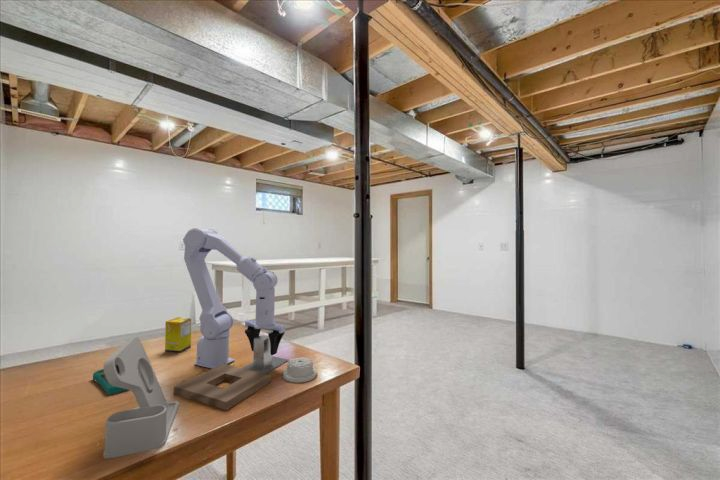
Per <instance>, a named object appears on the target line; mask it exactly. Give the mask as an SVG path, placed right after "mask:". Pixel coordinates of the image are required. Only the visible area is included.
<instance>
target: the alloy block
mask: <svg viewBox="0 0 720 480" xmlns="http://www.w3.org/2000/svg"><path fill="white" fill-rule="evenodd" d="M272 356H273V355H271V351H270V339H269V336H268V334H267V335H266V334H260V335H259V336H258V337H256V338H254V351H253V361H252V363H253V367H256V368H261V369H265V368H266V367H268V366H270V365H272Z"/></svg>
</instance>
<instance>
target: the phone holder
mask: <svg viewBox="0 0 720 480" xmlns="http://www.w3.org/2000/svg"><path fill="white" fill-rule="evenodd" d="M103 369H104V373H105V376H106V378H107V381H108V382H109V384H110V385H112V386H116V387H120V388H123V389H127V391H131V392H132V393H133V395H134V397H135V399H136V402H137V405H138V406H136V407H133V408H131V409H127V410H121V411H118V412H116V413H113V414H111V415H109V416H108V417H107V418H106V419H105V428H104V429H105V431H104V432H105V433H104V434H105V436H104V449H103V453H102V454H103V455H102V457H103V458H104V457H105V458H104V459H106V458H108V459H113V458H114V459H115V458H118V457H124V456H128V455H134V454H138V453H143V452H148V451H149V452H150V451H154V450H158V449H160V448H162V447H164V446H165V445H166V443H167V442H168V441H167V440H168V437H169V435H170V433H171V429H172V427H173V423H174V421H175V418H176V416H177V413H178V410H179V407H180V402H179V401H177V400H174V401H167V399H166V397H165V394H164V392H163V390H162V388H161V385H160V383H159V381H158V379H157V378H158V377H157V376H156V373H155V371H154V369H153V367H152V364H151V362H150V360H149V357H148V355H147V353H146V350H145V348H144V345H143V343H142V340H140V338H139V337H137V336H136V337H133V338H131V339H128V340H126V341H125V342H124V343H123V344H122V345H121V346H119V348H118V349H116V351H115V352H113V353H112V354H111V355H110V356H109V357H108V358H107V359H106V360H105V361H104V362H103ZM107 381H106V382H107Z"/></svg>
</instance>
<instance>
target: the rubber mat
mask: <svg viewBox="0 0 720 480" xmlns="http://www.w3.org/2000/svg"><path fill="white" fill-rule="evenodd" d="M287 360H289V359H288V358H282V357H279V356H278V357H277V356H274V355H272V365H270V366H268V367H266V368H265V369H261V368H256V367H253V362H251V363H249V364H246V365H245V366H243V367H242V368H243V369H247V370H252V371H256V372H260V373H264V374H268V373H270V372H272V371H273V370H275V369H277V368H279V367H280V366H282V365H283V364H282V363H284V362H285V363H287V362H288V361H287ZM286 361H287V362H286ZM285 363H284V364H285ZM281 364H282V365H281ZM279 365H280V366H279ZM276 367H277V368H276Z"/></svg>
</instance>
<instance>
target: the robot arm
mask: <svg viewBox="0 0 720 480" xmlns="http://www.w3.org/2000/svg"><path fill="white" fill-rule="evenodd" d="M182 241H183V244H184V255H183V259H184V260H183V261H184V263H185V265H186V268H187V271H188V274H189V277H190V279H191V281H192V286H193V287H194V290H195V293H196V296H197V298H198V301H199V304H200V307H201V310H202V311H201V314H200V316H199V318H198V319H199V322H200V328H199V331H200V334H201V336H200V337H199V338H198V341H197V343H196V361H195V362H194V363H193V364H194V365H196V366H199V367H204V368H208V369H210V370H211V369H213V368H215V367H217V366H219V365H222V364H226V365H229V364H231V363H233V362H235V361H236V360H235V358H232V357H229V356H230V355H229V353H230V329H231V328H232V327H233V324H234V317H233V316H232V315H231V314H230V313H229V312H228V310H227V307H226V306H225V305H223V304H222V303H220V300H219V297H218V294H217V292H216V289H215V285H214V283H213V279H212V278H211V275H210V272H209V269H208V266H207V263H206V261H205V260H206V258H207V256H208V254H209V253H211V251H212V250H215V251H217V252H219V253H220V254H222V255H223V256H224V257H225V258H227V259H229V260H230V261H231V262H232V263H234V264H235V265H236V270H237V272H239V273H240V275H241V274H242V275H243V276H244V277H245V278H246V279H248V280H249V281H250V282H251V283H252V285H253V288H254V290H255V293H256V295H255V320H254V319H253V320H252V319H248V320H246V321H244V328H246V329H245V330H244V334H245V335H246V337H247V339H248V342H249V344H250V350H251V352H254V338H256V337H258V336H260V335H261V334H260V333H261V330H266V331H271V332H270V333H268V334H267V336H269V339H270V351H271V355H272V356H274V355H276V354H277V353H278V350H279V346H280V343H281V340H282V338H283V336H284V335H285V333H286V325H283V324H280V323H277V322H275V300H276V299H275V298H276V294H275V293H276V291H275V290H276V288H275V287H276V286H277V284H278V276H277V274H275V272H273V271H271V270H268V268H267V267H263V266H262V265H261V264H260V263H258V262H257V258H255V257H251V256H244V255H243V254H242V253H241V252H240V251H238V249H236V248H235V247H234V246H233V245H232V244H231V243H230V242H228V240H227V239H226V238H224V236H223V235H222V234H220V233H218V232H217V230H215V229H212V228H211V229H206V228H205V229H202V228H201V229H200V228H196V227H195V228H191V229H188V231H187V232H186V234H185V235H184V237H183V239H182Z"/></svg>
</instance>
